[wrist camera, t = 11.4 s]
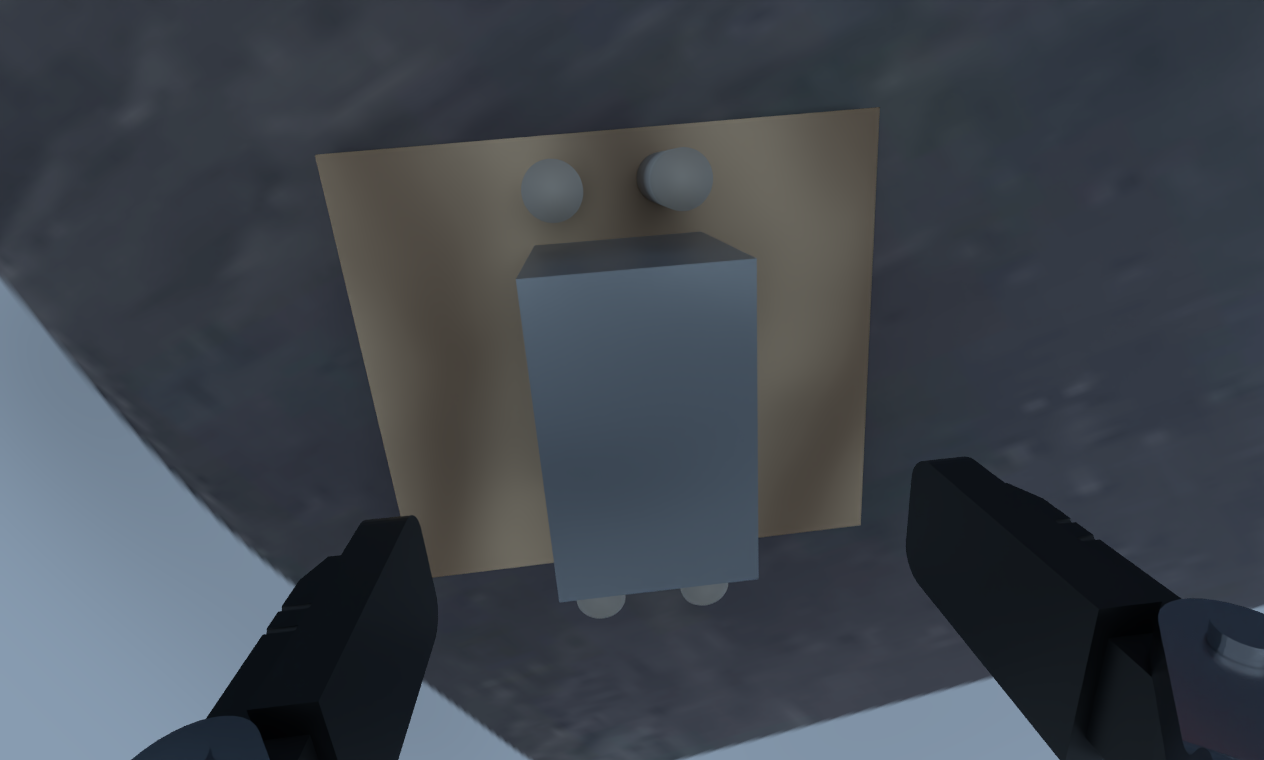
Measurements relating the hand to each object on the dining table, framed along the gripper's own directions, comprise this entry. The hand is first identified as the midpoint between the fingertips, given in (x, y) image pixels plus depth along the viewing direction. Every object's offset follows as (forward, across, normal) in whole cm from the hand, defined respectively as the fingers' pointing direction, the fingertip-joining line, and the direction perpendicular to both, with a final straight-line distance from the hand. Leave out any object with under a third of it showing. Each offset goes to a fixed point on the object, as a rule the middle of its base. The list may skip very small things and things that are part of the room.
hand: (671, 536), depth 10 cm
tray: (+11, 0, 0) cm, 11 cm away
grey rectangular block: (+10, 0, 0) cm, 10 cm away
